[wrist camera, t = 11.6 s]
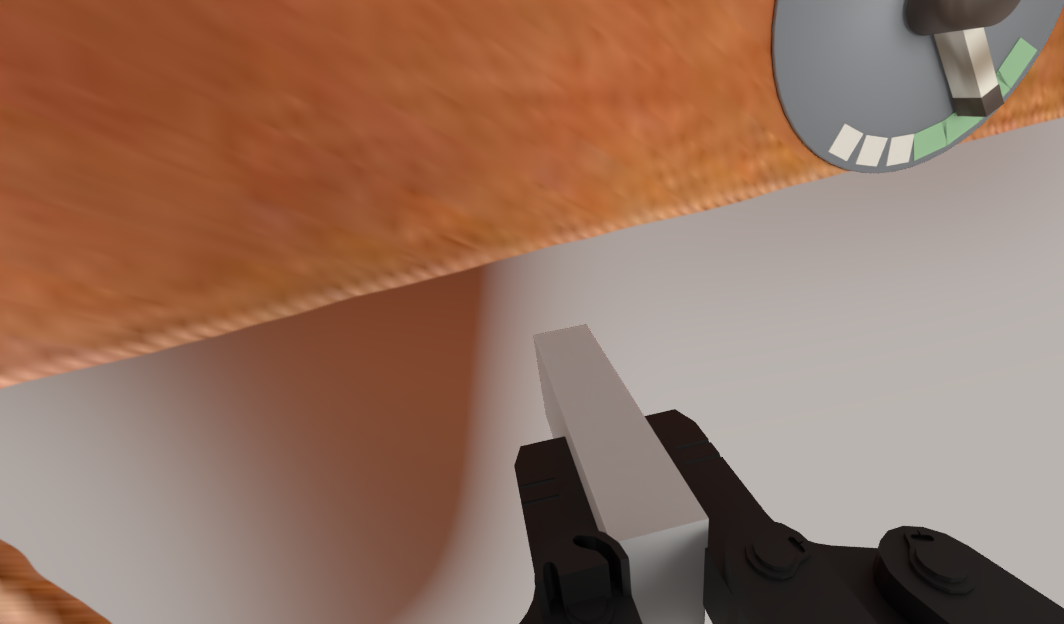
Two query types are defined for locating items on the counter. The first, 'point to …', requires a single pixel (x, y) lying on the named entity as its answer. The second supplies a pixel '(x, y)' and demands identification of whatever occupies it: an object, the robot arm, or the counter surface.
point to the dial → (885, 78)
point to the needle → (964, 47)
